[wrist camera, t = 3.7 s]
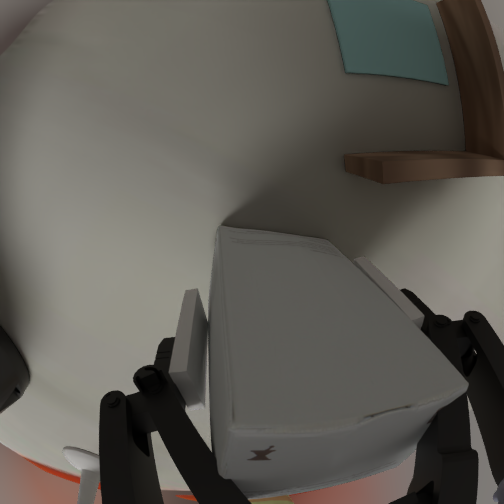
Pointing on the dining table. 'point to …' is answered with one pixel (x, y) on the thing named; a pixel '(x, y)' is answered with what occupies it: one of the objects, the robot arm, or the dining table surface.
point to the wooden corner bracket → (473, 105)
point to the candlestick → (85, 472)
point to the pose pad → (388, 39)
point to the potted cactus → (273, 500)
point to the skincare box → (312, 367)
